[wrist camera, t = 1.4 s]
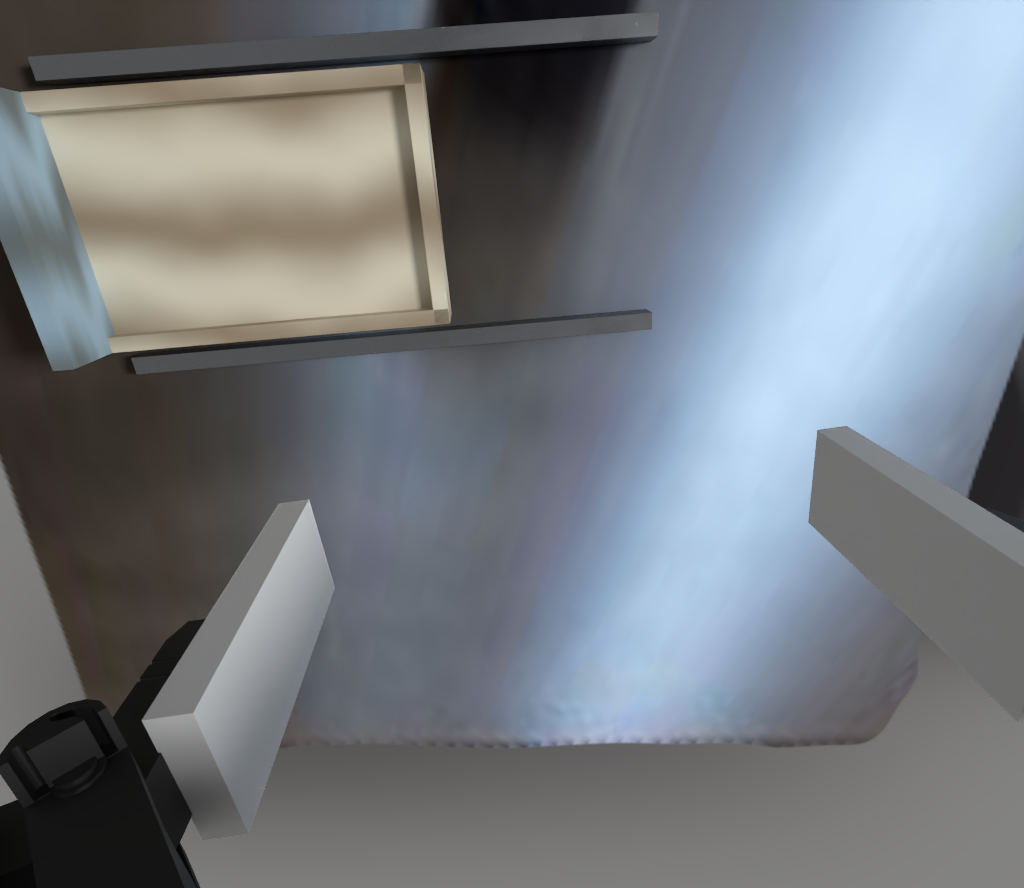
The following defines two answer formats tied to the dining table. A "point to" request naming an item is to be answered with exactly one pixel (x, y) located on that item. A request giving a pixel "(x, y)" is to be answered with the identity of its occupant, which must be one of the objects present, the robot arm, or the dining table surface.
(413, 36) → the track
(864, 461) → the robot arm
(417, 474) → the dining table surface
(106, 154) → the wooden tray
